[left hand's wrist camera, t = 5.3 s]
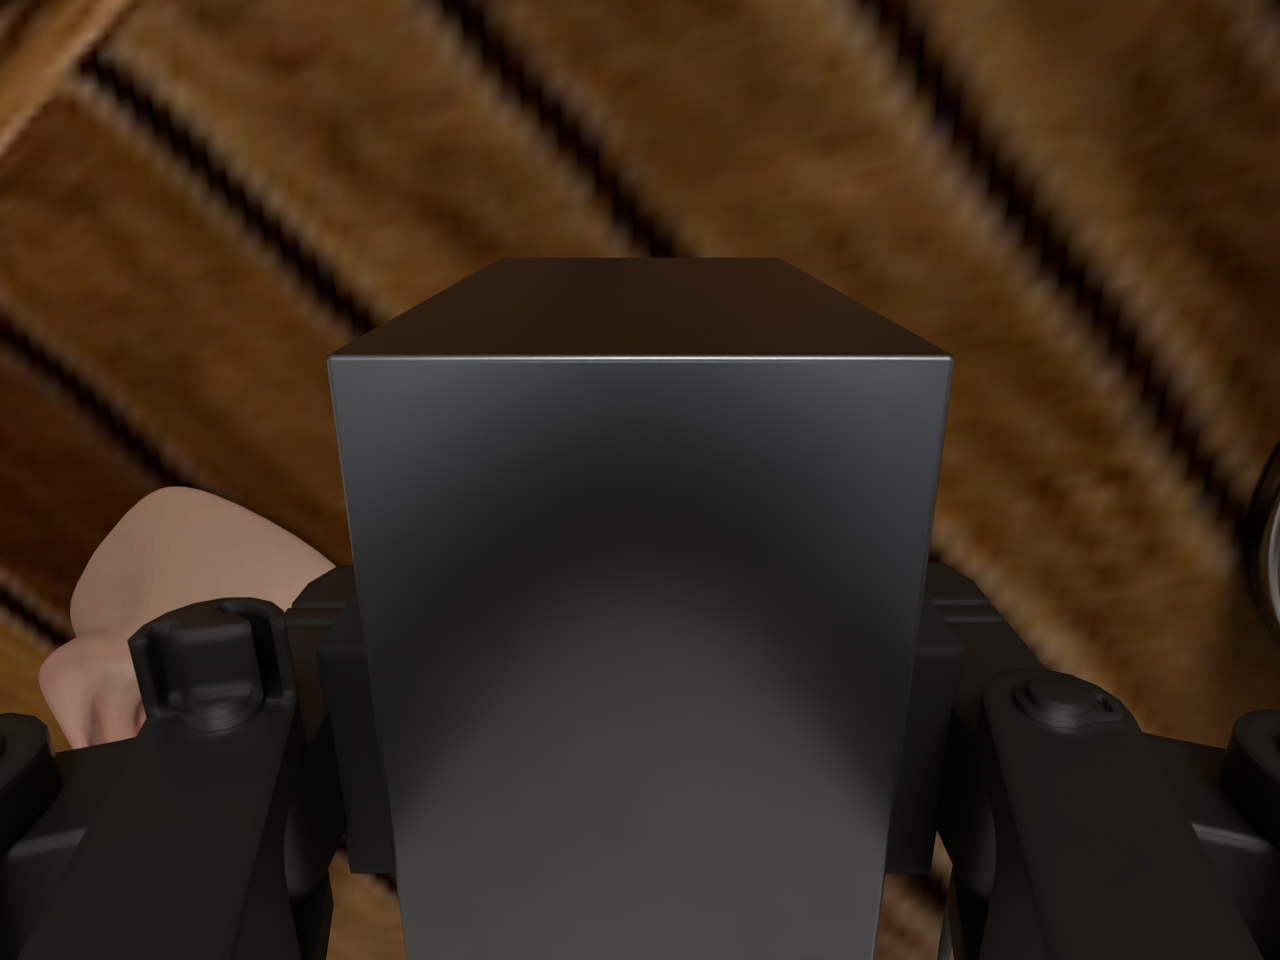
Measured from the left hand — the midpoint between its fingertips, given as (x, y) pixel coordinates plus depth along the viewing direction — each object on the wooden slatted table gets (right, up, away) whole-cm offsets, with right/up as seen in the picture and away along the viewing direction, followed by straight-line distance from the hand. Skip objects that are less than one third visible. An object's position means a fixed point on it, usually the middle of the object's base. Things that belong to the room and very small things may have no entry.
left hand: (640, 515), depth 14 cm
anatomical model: (-15, -6, +16) cm, 22 cm away
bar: (0, -9, +4) cm, 10 cm away
